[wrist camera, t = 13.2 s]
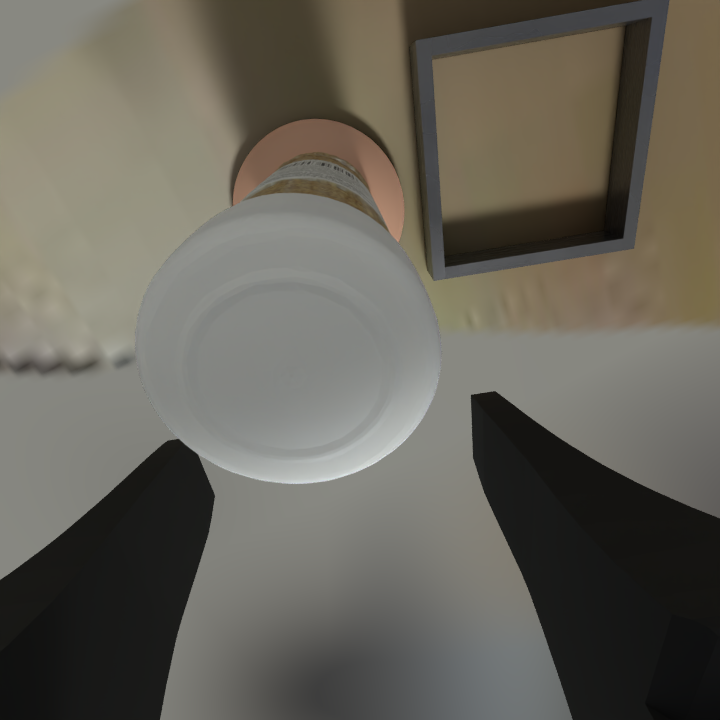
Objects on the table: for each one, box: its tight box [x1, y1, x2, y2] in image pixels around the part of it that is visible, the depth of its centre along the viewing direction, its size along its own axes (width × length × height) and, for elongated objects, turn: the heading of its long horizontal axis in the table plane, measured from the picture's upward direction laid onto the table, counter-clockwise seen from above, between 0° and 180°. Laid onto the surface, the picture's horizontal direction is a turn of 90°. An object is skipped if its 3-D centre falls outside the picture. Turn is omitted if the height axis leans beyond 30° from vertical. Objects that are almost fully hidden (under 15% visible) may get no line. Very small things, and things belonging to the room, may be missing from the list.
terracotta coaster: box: [233, 119, 404, 243], centre depth 19 cm, size 7×7×1 cm
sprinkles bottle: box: [135, 152, 442, 484], centre depth 12 cm, size 5×5×13 cm
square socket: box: [409, 0, 669, 281], centre depth 17 cm, size 8×8×2 cm
